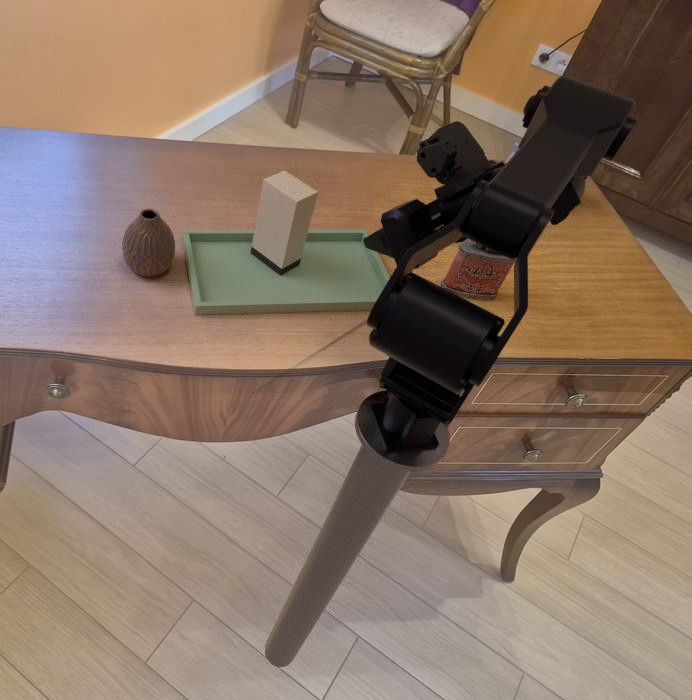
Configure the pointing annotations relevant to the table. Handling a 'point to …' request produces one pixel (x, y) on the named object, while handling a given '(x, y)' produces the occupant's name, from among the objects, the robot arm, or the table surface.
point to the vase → (148, 244)
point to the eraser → (282, 221)
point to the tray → (291, 287)
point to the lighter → (477, 272)
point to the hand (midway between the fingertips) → (389, 229)
